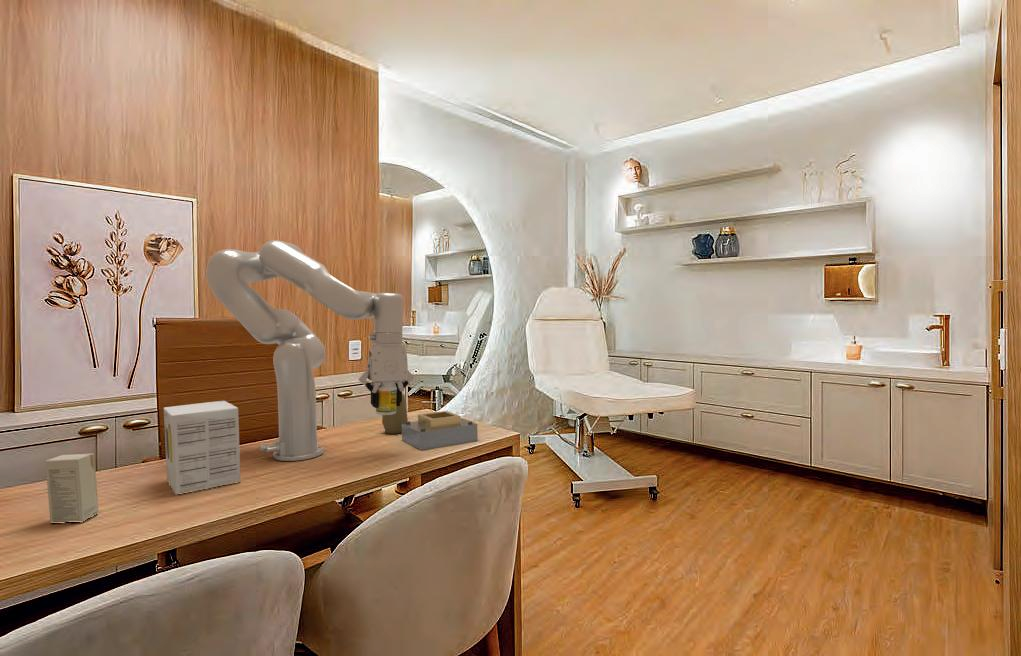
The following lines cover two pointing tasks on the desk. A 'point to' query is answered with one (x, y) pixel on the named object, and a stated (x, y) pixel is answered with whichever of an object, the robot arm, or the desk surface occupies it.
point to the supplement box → (201, 445)
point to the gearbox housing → (438, 430)
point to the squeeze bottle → (396, 418)
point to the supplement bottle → (387, 398)
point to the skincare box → (72, 487)
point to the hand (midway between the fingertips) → (386, 405)
